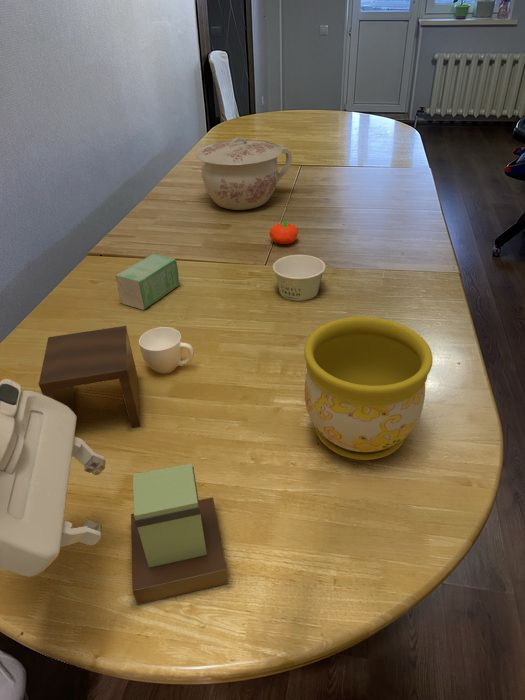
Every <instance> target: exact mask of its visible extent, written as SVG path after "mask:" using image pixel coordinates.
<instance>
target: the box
mask: <svg viewBox="0 0 525 700" xmlns="http://www.w3.org/2000/svg"><path fill="white" fill-rule="evenodd" d="M177 263H178V262H177V260H176V258H174V257H170V256H166V255H161V254H157V253H153V254H150V255H148V256H146V257H145V258H143V259H141V260H140V261H138V262H136V263H134V264H132V265H131V266H129V267H128V268H126V269H124V270H123V271H121V272H119V273H117V274H115V280H116V284H117V285H116V286H117V290H118V294H119V300H120V303H121V304H123V305H125V306H127V307H128V306H129V307H131V308H134V309H137V310H142V311H143V310H146V309H148V308H149V307H150V306H152V305H154V304H155V303H156V302H158V301H159V300H161V299H162V298H163V297H165V296H166V295H168V294H170V292H172V291H173V290H176V288H178V287H179V286H180V279H179V269H178V264H177Z"/></svg>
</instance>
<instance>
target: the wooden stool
mask: <svg viewBox="0 0 525 700" xmlns="http://www.w3.org/2000/svg"><path fill="white" fill-rule="evenodd" d="M45 347H46V348H45V350H44V351H45V352H44V357H43V362H42V366H41V370H40V376H39V380H38V386H39V389H40V391H41V392H40V393H41V394H42V395H45V396H47V397H49V398H52V399H54V400H56V401H58V402H60V403H62V404H64V405H66V406H68V407H69V408H70V409H71V410H72V411H73V409H74V402H75V401H74V400H75V392H76V389H75V387H78V386H84V385H91V384H96V383H102V382H103V383H104V382H109V381H115V380H118V381H119V384H120V389H121V393H122V396H123V401H124V404H125V408H126V413H127V416H128V420H129V423H130V427H131V429H135V428H140V427H141V411H140V410H141V409H140V408H141V407H140V406H141V405H140V385H139V376H138V371H137V368H136V363H135V359H134V354H133V350H132V344H131V341H130V336H129V332H128V328H127V325H121V326H115V327H114V326H113V327H108V328H101V329H93V330H88V331H82V332H81V331H79V332H75V333H68V334H61V335H54V336H48V337H47V341H46V345H45Z"/></svg>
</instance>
